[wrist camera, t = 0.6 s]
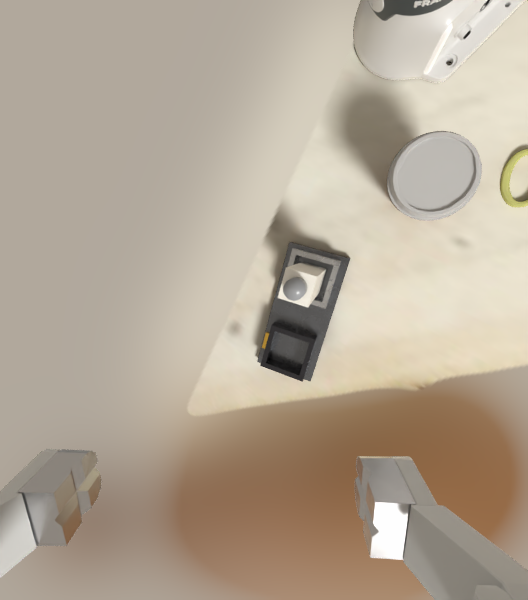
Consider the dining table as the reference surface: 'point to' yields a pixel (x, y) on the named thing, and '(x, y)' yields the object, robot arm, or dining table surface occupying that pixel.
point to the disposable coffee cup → (434, 175)
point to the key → (506, 179)
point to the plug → (301, 283)
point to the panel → (302, 317)
